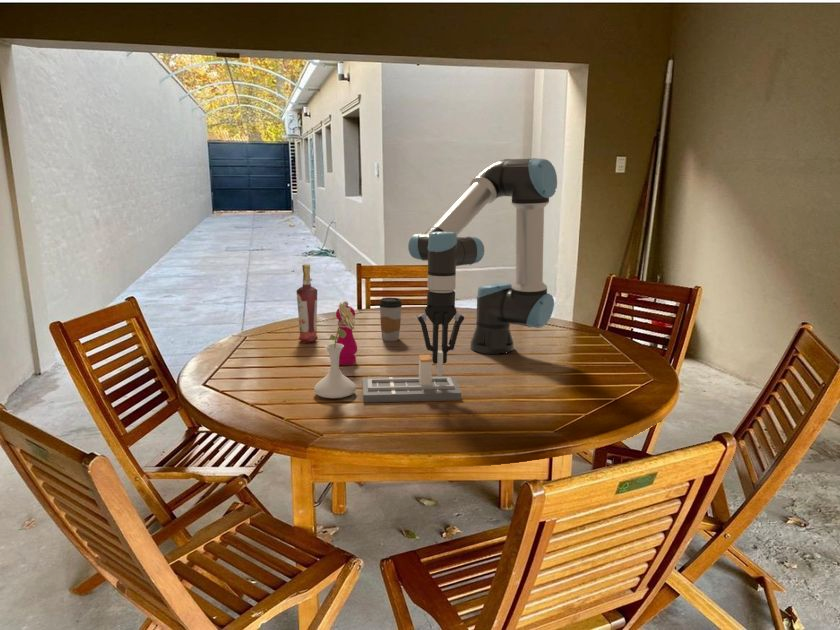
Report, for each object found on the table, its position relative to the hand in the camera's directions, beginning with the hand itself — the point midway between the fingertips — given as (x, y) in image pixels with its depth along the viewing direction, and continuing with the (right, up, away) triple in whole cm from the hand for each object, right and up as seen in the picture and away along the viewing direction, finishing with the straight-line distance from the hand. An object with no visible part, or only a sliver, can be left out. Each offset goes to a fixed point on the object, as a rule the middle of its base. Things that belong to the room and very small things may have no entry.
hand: (439, 374), depth 159 cm
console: (-8, -5, 0) cm, 9 cm away
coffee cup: (-16, +7, +55) cm, 58 cm away
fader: (-4, -3, 0) cm, 5 cm away
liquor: (-46, +7, +50) cm, 68 cm away
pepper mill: (-29, +1, +26) cm, 39 cm away
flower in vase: (-28, -5, -2) cm, 28 cm away
